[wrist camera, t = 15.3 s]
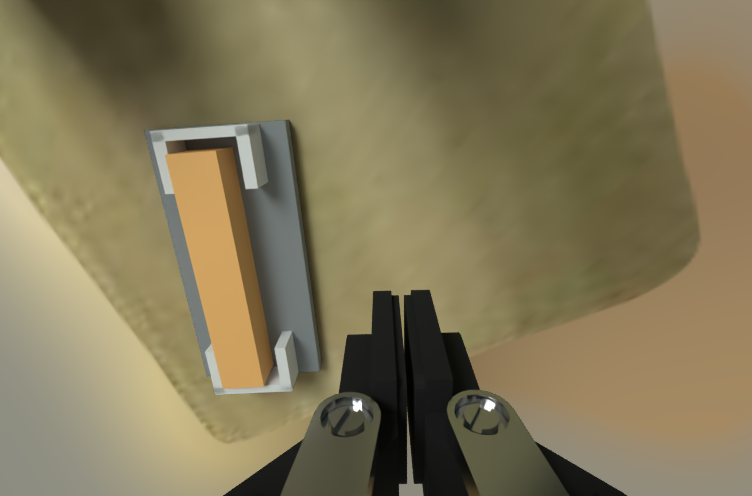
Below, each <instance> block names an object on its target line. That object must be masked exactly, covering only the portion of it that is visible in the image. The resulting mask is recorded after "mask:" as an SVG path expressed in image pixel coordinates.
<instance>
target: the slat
mask: <svg viewBox="0 0 752 496" xmlns="http://www.w3.org/2000/svg"><path fill="white" fill-rule="evenodd" d="M165 158H166V162H167V166H168V170H169V174H170V178H171V182H172V186H173V190H174V194H175V198H176V202H177V206H178V210H179V214H180V218H181V222H182V226H183V230H184V235H185V239H186V243H187V247H188V251H189V255H190V259H191V263H192V267H193V271H194V275H195V279H196V283H197V287H198V291H199V295H200V299H201V303H202V307H203V311H204V315H205V319H206V323H207V327H208V331H209V335H210V339H211V343H212V347H213V351H214V355H215V359H216V363H217V367H218V371H219V375H220V379H221V383H222V387H223V389H231V388H251V387H264V386H265V383H266V381H267V379H268V376H269V374H270V372H271V369H272V367H273V365H274V363H273V358H272V353H271V347H270V342H269V337H268V332H267V326H266V321H265V316H264V310H263V305H262V300H261V295H260V289H259V284H258V279H257V274H256V268H255V263H254V258H253V253H252V247H251V242H250V237H249V232H248V226H247V221H246V216H245V211H244V205H243V200H242V195H241V190H240V184H239V179H238V174H237V169H236V163H235V158H234V153H233V147H225V148H212V149H198V150H186V151H181V152H176V153H171V154H166V155H165Z"/></svg>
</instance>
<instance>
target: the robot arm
mask: <svg viewBox="0 0 752 496" xmlns="http://www.w3.org/2000/svg"><path fill="white" fill-rule="evenodd" d="M407 411H408V422H409V434H410V445H411V456H412V468H413V479H414V484H423V494H424V496H627V495H625V494H624V493H623V492H621V491H619V490H617V489H615V488H614V487H612V486H610V485H609V484H607V483H605V482H604V481H602V480H600V479H599V478H597V477H595V476H593V475H592V474H590V473H588V472H586V471H585V470H583V469H581V468H580V467H578V466H576V465H575V464H573V463H571V462H569V461H568V460H566V459H564V458H563V457H561V456H559V455H557V454H556V453H554V452H552V451H551V450H549V449H547V448H545V447H544V446H542V445H540V444H539V443H537V442H535V441H534V440H533V438H532V436H531V435H530V433H529V432H528V430H527V429H526V427H525V426H524V424H523V423H522V421H521V419H520V418H519V416H518V415H517V413H516V412H515V410H514V409H513V408H512V406H511V405H510V404H509V403H508V402H507V401H505V400H504V399H503V398H501V397H500V396H498V395H496V394H493V393H491V392H487V391H482V390H480V389H479V386H478V383H477V380H476V378H475V374H474V371H473V369H472V366H471V363H470V360H469V357H468V354H467V351H466V348H465V345H464V343H463V340H462V337H461V335H460V333H459V332H457V333H441V331H440V327H439V324H438V320H437V316H436V312H435V308H434V305H433V301H432V297H431V293H430V290H411V295H404V347H403V337H402V326H401V316H400V305H399V295H391V291H373V311H372V334H359V335H347V339H346V346H345V353H344V360H343V367H342V374H341V382H340V389H339V394H335V395H333V396H331V397H329V398H327V399H325V400H324V401H323V402H322V403H321V404H320V405H319V406H318V407H317V409H316V411H315V412H314V414H313V417H312V419H311V422H310V425H309V427H308V429H307V432H306V434H305V437H304V439H303V440H302V441H300V442H299V443H297V444H296V445H294V446H293V447H292V448H291V449H289V450H287V451H286V452H285V453H283V454H282V455H280V456H279V457H277V458H276V459H275V460H273V461H272V462H270V463H269V464H268V465H266V466H265V467H263V468H262V469H260V470H259V471H258V472H256V473H255V474H253V475H252V476H250V477H249V478H248V479H246V480H245V481H244V482H242V483H241V484H239V485H238V486H236V487H235V488H233V489H232V490H231V491H229V492H228V493H226V494H225V495H223V496H399V484H407Z"/></svg>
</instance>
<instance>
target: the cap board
mask: <svg viewBox="0 0 752 496" xmlns="http://www.w3.org/2000/svg"><path fill="white" fill-rule="evenodd" d="M144 132H145V136H146V140H147V144H148V148H149V152H150V156H151V160H152V163H153V167H154V171H155V175H156V179H157V183H158V187H159V191H160V195H161V199H162V203H163V207H164V210H165V214H166V218H167V222H168V226H169V230H170V234H171V238H172V242H173V246H174V250H175V254H176V257H177V261H178V265H179V269H180V273H181V277H182V281H183V285H184V289H185V293H186V297H187V301H188V304H189V308H190V312H191V316H192V320H193V324H194V328H195V332H196V336H197V340H198V344H199V348H200V351H201V355H202V359H203V363H204V367H205V371H206V375H207V377H209V376H211V378H212V382H213V386H214V390H215V394H239V393H262V392H284V391H292V390H293V387H294V384H295V381H296V378H297V375H298V372H317V371H320V367H321V363H322V361H321V354H320V347H319V339H318V332H317V324H316V317H315V309H314V302H313V294H312V287H311V280H310V272H309V265H308V257H307V250H306V242H305V235H304V228H303V220H302V213H301V205H300V198H299V190H298V183H297V176H296V168H295V161H294V153H293V146H292V138H291V131H290V123H289V120H279V121H265V122H251V123H237V124H223V125H209V126H194V127H180V128H166V129H152V130H144ZM225 147H233V153H234V158H235V163H236V169H237V174H238V179H239V184H240V190H241V195H242V200H243V205H244V211H245V216H246V221H247V226H248V232H249V237H250V242H251V247H252V253H253V258H254V263H255V268H256V274H257V279H258V284H259V289H260V295H261V300H262V305H263V310H264V316H265V321H266V326H267V332H268V337H269V342H270V347H271V353H272V358H273V363H274V365H273V367H272V369H271V372H270V374H269V376H268V379H267V381H266V383H265V386H264V387H251V388H231V389H223V387H222V383H221V379H220V375H219V371H218V367H217V363H216V359H215V355H214V351H213V347H212V343H211V339H210V335H209V331H208V327H207V323H206V319H205V315H204V311H203V307H202V303H201V299H200V295H199V291H198V287H197V283H196V279H195V275H194V271H193V267H192V263H191V259H190V255H189V251H188V247H187V243H186V239H185V235H184V230H183V226H182V222H181V218H180V214H179V210H178V206H177V202H176V198H175V194H174V190H173V186H172V182H171V178H170V174H169V170H168V166H167V162H166V158H165V155H166V154H171V153H176V152H181V151H186V150H198V149H212V148H225Z"/></svg>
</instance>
